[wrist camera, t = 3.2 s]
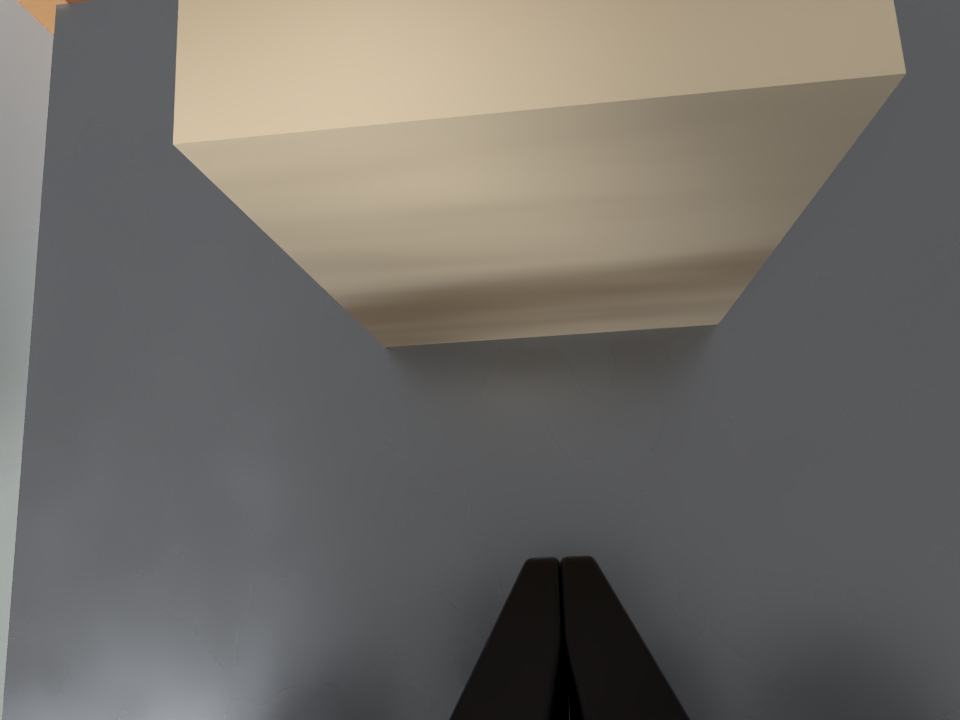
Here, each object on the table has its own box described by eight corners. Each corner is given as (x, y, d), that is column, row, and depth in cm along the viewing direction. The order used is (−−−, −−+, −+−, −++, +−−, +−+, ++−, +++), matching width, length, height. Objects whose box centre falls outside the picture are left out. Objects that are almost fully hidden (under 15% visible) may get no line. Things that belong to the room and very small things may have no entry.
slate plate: (1152, 992, 14) (1336, 1139, 11) (98, 980, 16) (-27, 1100, 13) (962, 6, 18) (1051, -112, 15) (142, 91, 20) (56, 4, 17)
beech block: (717, 324, 14) (906, 73, 6) (384, 346, 15) (172, 145, 7) (684, 22, 15) (807, -504, 7) (378, 54, 16) (193, -402, 8)
